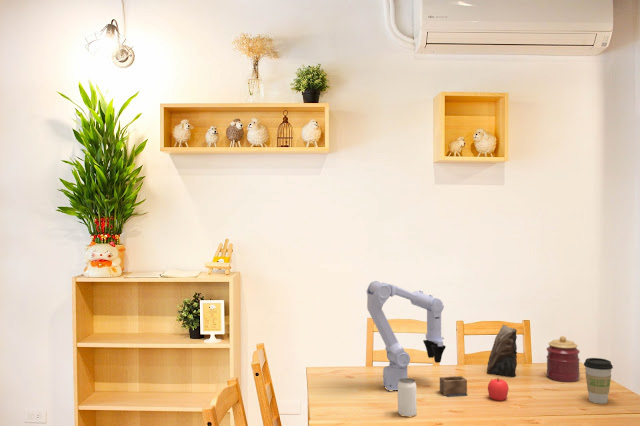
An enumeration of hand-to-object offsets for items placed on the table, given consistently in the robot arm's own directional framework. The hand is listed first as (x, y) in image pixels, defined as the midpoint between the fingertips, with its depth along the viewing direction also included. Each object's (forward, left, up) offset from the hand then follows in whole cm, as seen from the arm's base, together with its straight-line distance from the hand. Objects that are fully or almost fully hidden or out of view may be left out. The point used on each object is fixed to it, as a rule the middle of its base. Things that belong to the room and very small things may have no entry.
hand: (434, 359), depth 243 cm
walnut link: (+3, -13, -9) cm, 16 cm away
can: (-22, -31, -10) cm, 39 cm away
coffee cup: (+52, -32, -10) cm, 62 cm away
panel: (+3, -13, -10) cm, 16 cm away
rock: (+34, +9, -10) cm, 37 cm away
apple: (+17, -22, -10) cm, 30 cm away
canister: (+56, -3, -10) cm, 57 cm away
